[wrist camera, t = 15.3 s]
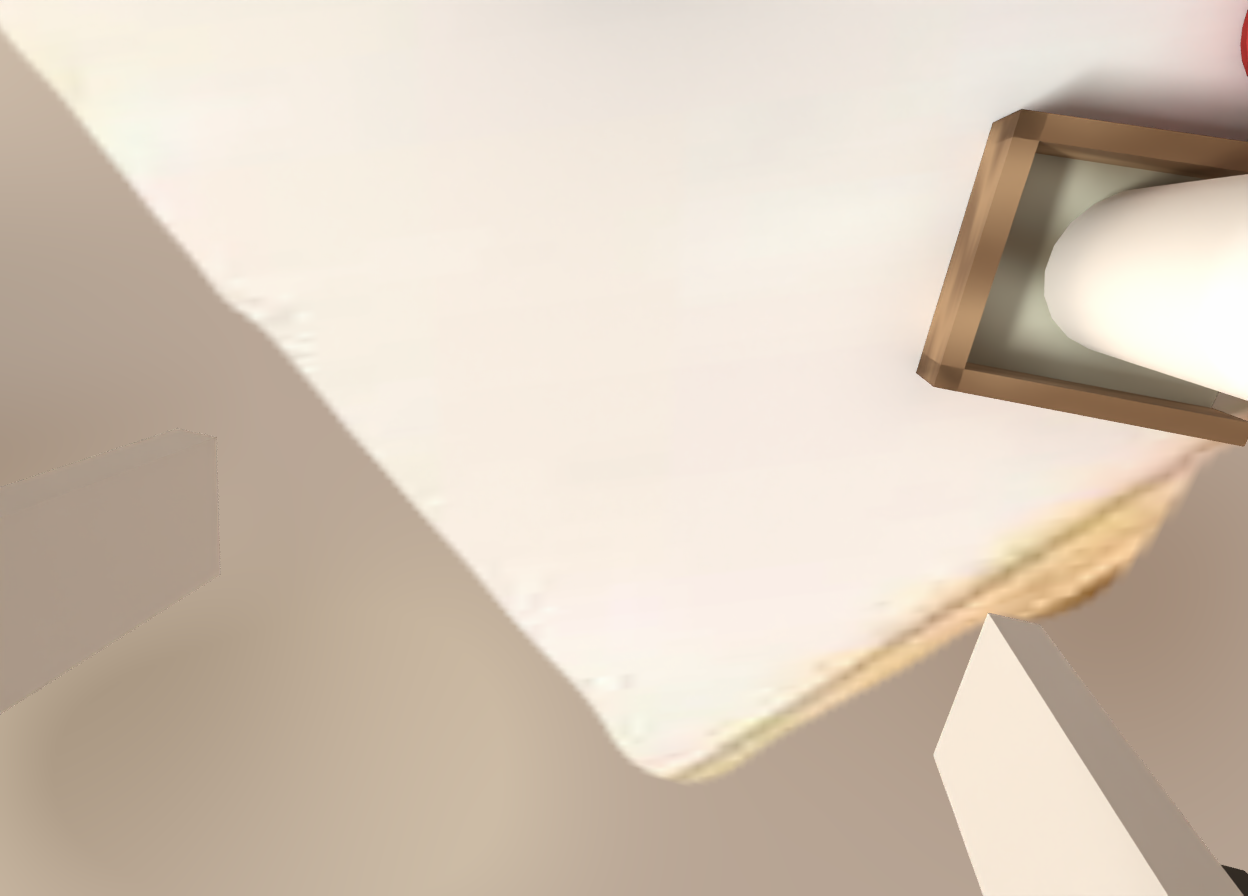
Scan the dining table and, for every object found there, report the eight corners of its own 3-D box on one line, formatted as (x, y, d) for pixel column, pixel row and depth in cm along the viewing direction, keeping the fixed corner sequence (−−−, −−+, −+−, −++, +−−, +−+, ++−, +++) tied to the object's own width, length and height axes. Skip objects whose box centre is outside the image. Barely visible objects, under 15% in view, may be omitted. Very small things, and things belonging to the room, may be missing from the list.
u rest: (992, 122, 36) (1021, 109, 32) (1310, 169, 34) (1381, 161, 30) (916, 372, 40) (933, 386, 36) (1195, 426, 38) (1244, 446, 34)
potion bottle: (1234, 188, 34) (1715, 137, 17) (1190, 354, 37) (1573, 454, 20) (1053, 187, 35) (1332, 139, 18) (1022, 347, 38) (1244, 436, 21)
